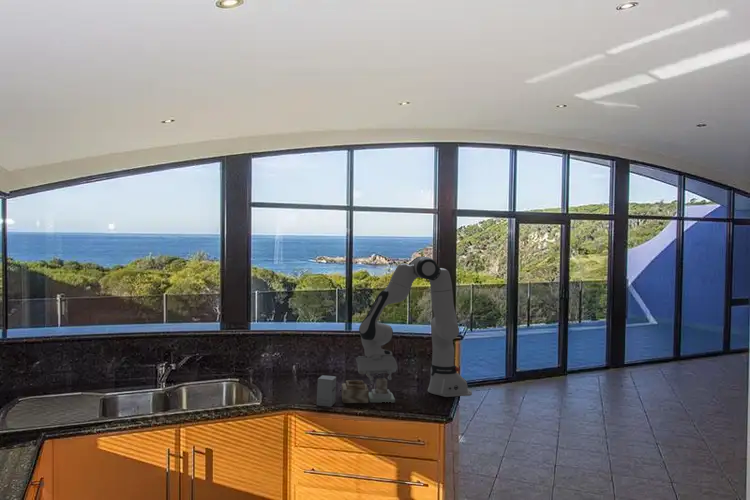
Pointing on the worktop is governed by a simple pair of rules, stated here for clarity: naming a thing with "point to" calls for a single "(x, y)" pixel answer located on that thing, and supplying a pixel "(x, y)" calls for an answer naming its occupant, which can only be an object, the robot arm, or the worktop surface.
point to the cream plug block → (381, 386)
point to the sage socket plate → (381, 397)
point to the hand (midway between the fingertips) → (381, 380)
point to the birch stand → (355, 392)
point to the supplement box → (326, 390)
